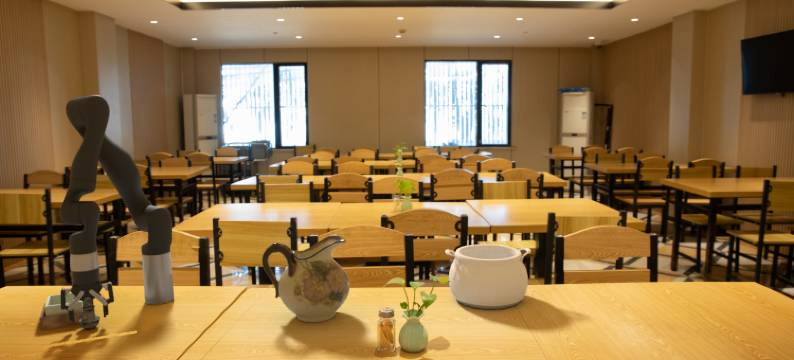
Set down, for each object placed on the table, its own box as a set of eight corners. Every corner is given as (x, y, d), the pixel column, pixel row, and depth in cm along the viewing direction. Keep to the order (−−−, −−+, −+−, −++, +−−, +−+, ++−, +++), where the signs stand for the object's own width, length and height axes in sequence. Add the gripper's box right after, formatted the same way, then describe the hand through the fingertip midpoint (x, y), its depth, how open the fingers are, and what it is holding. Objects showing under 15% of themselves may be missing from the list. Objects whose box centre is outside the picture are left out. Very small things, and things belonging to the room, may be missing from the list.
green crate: (84, 310, 199) (83, 291, 198) (83, 321, 188) (81, 301, 187) (50, 315, 195) (48, 295, 194) (46, 327, 184) (44, 306, 183)
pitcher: (365, 313, 193) (362, 237, 190) (307, 335, 176) (302, 252, 173) (320, 299, 208) (316, 228, 205) (262, 319, 191) (258, 241, 188)
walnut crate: (90, 310, 201) (89, 297, 200) (89, 324, 187) (87, 311, 187) (45, 316, 195) (44, 303, 195) (40, 332, 182) (39, 318, 181)
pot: (520, 286, 220) (521, 239, 217) (540, 311, 193) (541, 258, 191) (441, 288, 219) (441, 241, 216) (450, 313, 192) (450, 261, 190)
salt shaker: (92, 334, 179) (89, 295, 178) (75, 333, 180) (71, 294, 179) (105, 327, 185) (102, 289, 183) (88, 326, 186) (85, 288, 185)
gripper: (111, 261, 187) (115, 311, 189) (58, 267, 181) (63, 319, 183) (111, 266, 180) (115, 319, 182) (56, 273, 174) (61, 327, 176)
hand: (89, 319), depth 182 cm, fingers open, 8 cm apart
